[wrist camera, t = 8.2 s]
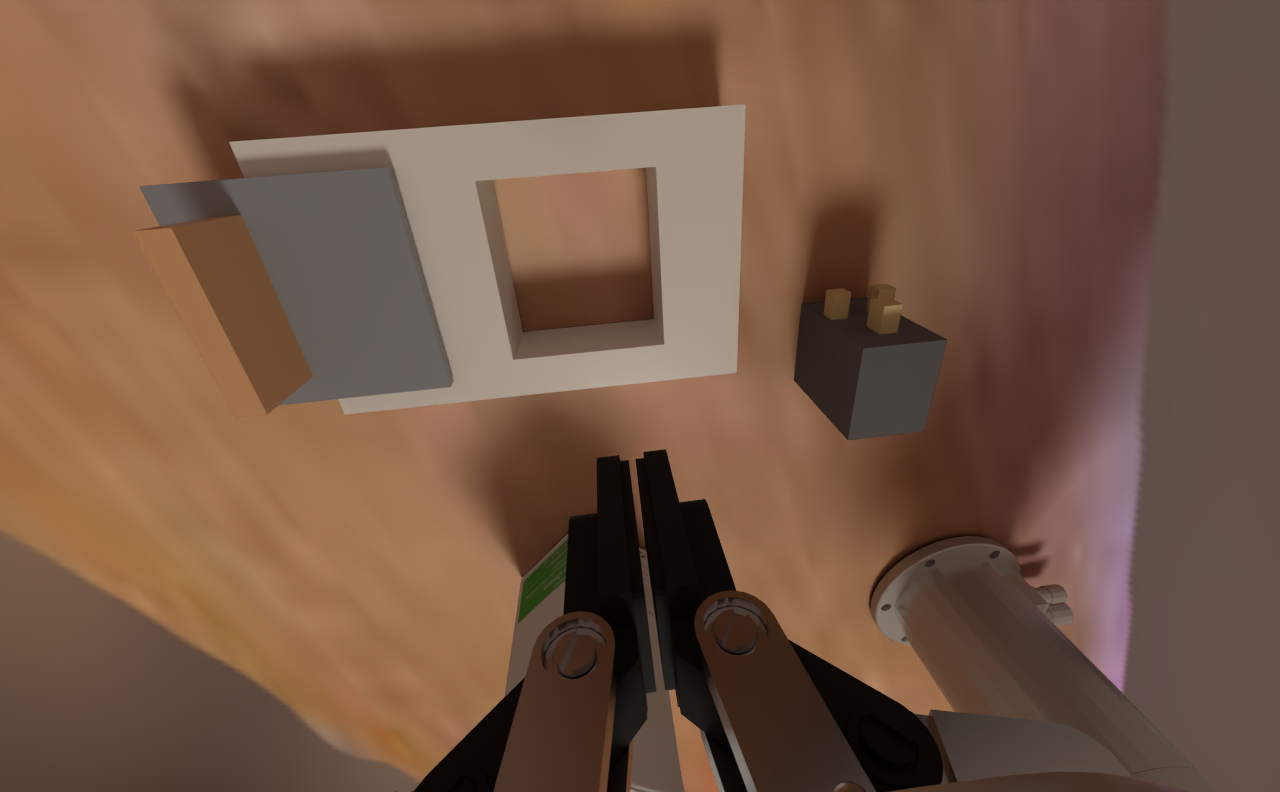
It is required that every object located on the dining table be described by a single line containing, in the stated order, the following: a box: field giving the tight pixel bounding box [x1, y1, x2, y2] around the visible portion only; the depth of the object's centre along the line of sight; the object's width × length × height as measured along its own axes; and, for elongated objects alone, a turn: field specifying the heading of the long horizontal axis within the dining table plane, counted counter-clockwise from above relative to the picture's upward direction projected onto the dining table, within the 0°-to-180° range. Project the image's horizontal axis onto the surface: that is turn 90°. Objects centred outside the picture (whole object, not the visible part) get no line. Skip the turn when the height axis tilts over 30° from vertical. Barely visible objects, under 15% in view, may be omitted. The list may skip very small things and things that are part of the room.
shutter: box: [132, 167, 454, 418], centre depth 19 cm, size 9×10×4 cm
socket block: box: [229, 104, 746, 414], centre depth 23 cm, size 20×12×4 cm, turn 94°
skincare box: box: [505, 534, 685, 792], centre depth 29 cm, size 8×7×16 cm
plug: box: [794, 284, 947, 440], centre depth 25 cm, size 4×6×7 cm, turn 4°
